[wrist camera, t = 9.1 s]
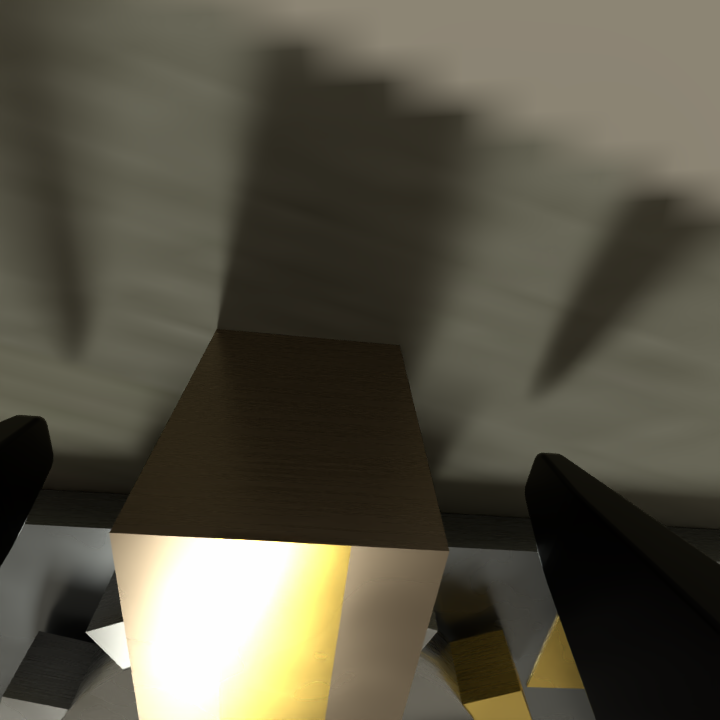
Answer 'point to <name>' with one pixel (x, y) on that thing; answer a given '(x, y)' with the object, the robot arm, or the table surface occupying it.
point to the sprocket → (118, 702)
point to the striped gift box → (282, 538)
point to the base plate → (452, 605)
